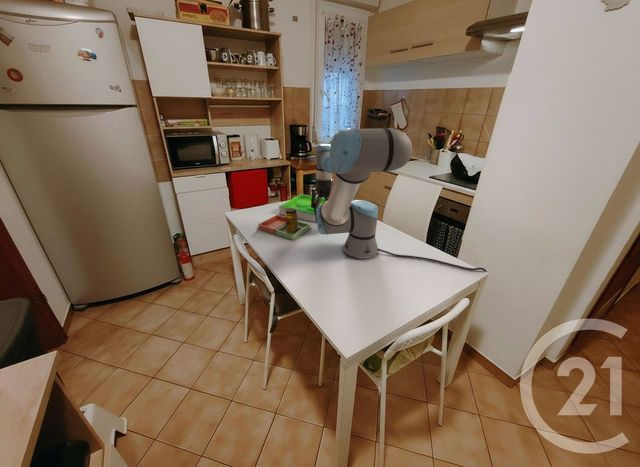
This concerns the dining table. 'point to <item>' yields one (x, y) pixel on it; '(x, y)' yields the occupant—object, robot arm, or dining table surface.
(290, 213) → the condiment
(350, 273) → the dining table surface
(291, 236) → the green tray
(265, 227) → the terracotta tray
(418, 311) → the dining table surface
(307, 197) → the tray
